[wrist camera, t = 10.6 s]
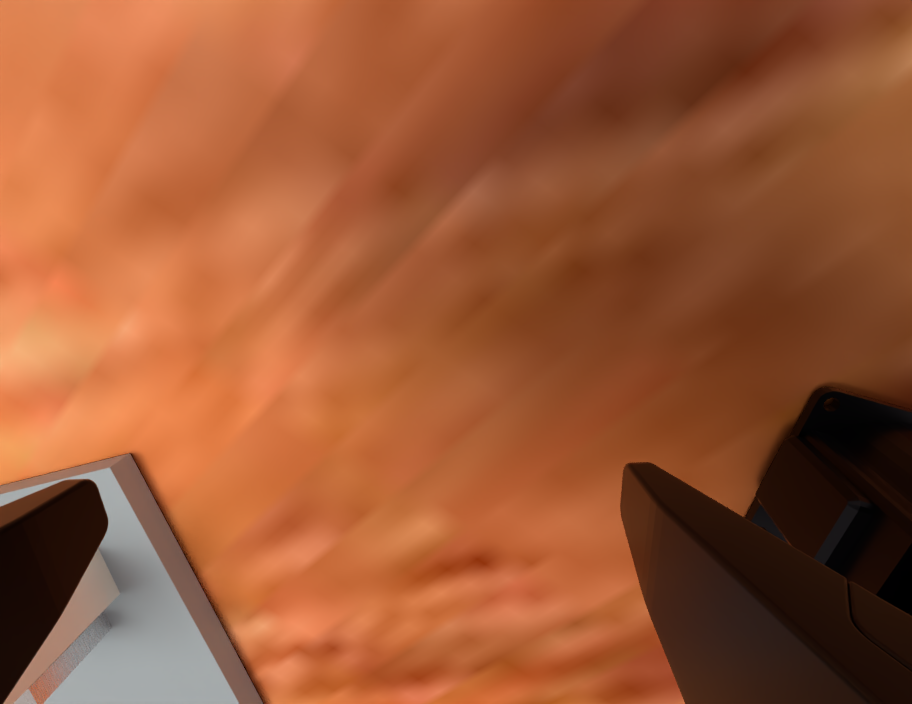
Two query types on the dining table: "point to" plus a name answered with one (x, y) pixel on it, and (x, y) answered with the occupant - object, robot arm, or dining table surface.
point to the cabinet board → (146, 606)
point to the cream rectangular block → (71, 621)
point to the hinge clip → (66, 662)
